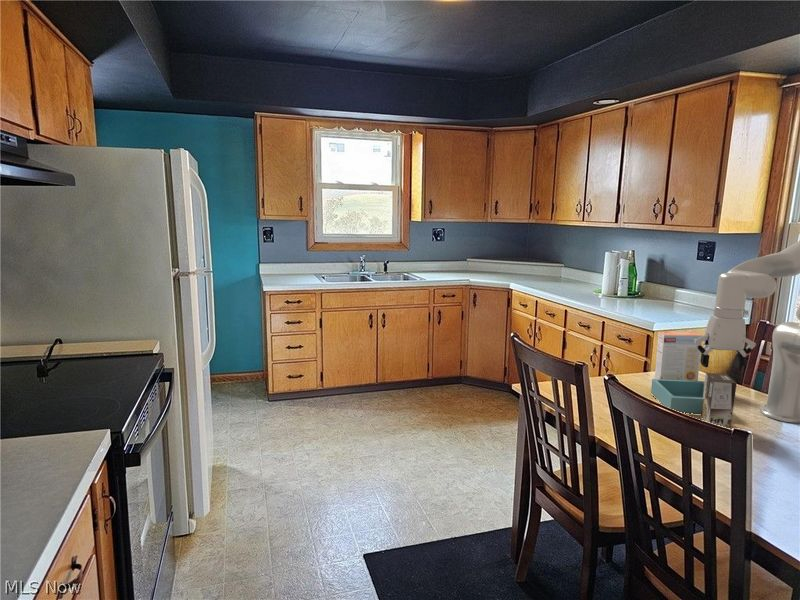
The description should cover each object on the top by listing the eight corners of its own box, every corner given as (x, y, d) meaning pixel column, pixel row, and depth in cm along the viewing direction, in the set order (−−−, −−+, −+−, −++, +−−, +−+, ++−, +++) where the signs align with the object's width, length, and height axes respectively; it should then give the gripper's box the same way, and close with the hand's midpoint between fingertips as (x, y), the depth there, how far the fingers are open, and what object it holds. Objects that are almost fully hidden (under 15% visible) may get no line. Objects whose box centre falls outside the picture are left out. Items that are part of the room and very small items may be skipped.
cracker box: (690, 382, 195) (695, 331, 192) (697, 387, 190) (703, 335, 186) (653, 381, 197) (658, 330, 193) (659, 386, 191) (664, 334, 187)
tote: (702, 396, 181) (704, 381, 180) (727, 417, 163) (729, 400, 162) (650, 394, 183) (652, 378, 182) (669, 414, 166) (671, 397, 165)
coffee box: (731, 432, 152) (737, 383, 149) (707, 430, 154) (713, 381, 151) (722, 420, 161) (728, 373, 158) (699, 418, 163) (705, 371, 160)
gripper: (752, 312, 153) (744, 365, 156) (692, 309, 155) (686, 361, 158) (766, 317, 146) (757, 372, 149) (703, 314, 148) (696, 369, 151)
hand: (720, 367), depth 154 cm, fingers open, 9 cm apart
